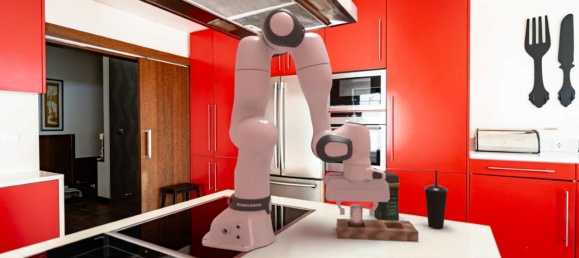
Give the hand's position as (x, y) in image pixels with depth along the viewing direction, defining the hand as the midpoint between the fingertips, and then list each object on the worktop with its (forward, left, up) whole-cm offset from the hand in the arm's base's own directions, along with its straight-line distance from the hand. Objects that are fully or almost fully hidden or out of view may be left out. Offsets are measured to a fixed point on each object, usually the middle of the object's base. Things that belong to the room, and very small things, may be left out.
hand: (356, 214), depth 99 cm
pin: (0, 0, -6) cm, 6 cm away
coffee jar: (+13, +17, -7) cm, 22 cm away
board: (+6, 0, -7) cm, 9 cm away
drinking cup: (+29, +12, -7) cm, 32 cm away
